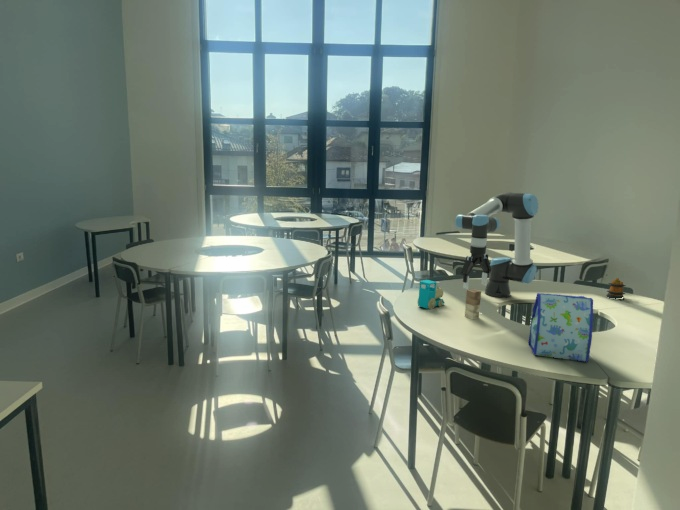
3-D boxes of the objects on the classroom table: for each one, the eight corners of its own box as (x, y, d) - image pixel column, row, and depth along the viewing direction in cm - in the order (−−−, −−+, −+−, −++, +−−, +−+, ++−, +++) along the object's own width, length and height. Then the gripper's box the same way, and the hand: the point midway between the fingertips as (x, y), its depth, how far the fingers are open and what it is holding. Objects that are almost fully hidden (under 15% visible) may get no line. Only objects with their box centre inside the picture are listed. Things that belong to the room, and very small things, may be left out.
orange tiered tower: (624, 301, 287) (627, 282, 285) (605, 298, 292) (608, 280, 290) (623, 296, 299) (626, 278, 296) (605, 293, 303) (608, 276, 301)
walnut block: (472, 301, 244) (473, 288, 243) (479, 304, 240) (481, 291, 239) (465, 303, 242) (466, 290, 240) (473, 305, 238) (474, 292, 236)
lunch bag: (579, 349, 207) (587, 292, 202) (590, 364, 191) (599, 303, 186) (526, 343, 212) (532, 287, 207) (533, 358, 196) (540, 297, 191)
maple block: (471, 314, 246) (472, 302, 244) (478, 317, 242) (480, 304, 240) (464, 316, 243) (465, 303, 242) (472, 319, 239) (473, 305, 238)
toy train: (445, 305, 266) (448, 279, 263) (428, 310, 255) (430, 284, 252) (434, 301, 272) (436, 276, 269) (416, 307, 260) (418, 281, 257)
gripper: (488, 242, 245) (485, 282, 249) (455, 246, 231) (451, 288, 236) (500, 245, 239) (496, 285, 243) (466, 249, 225) (463, 291, 230)
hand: (474, 286), depth 239 cm, fingers open, 13 cm apart
